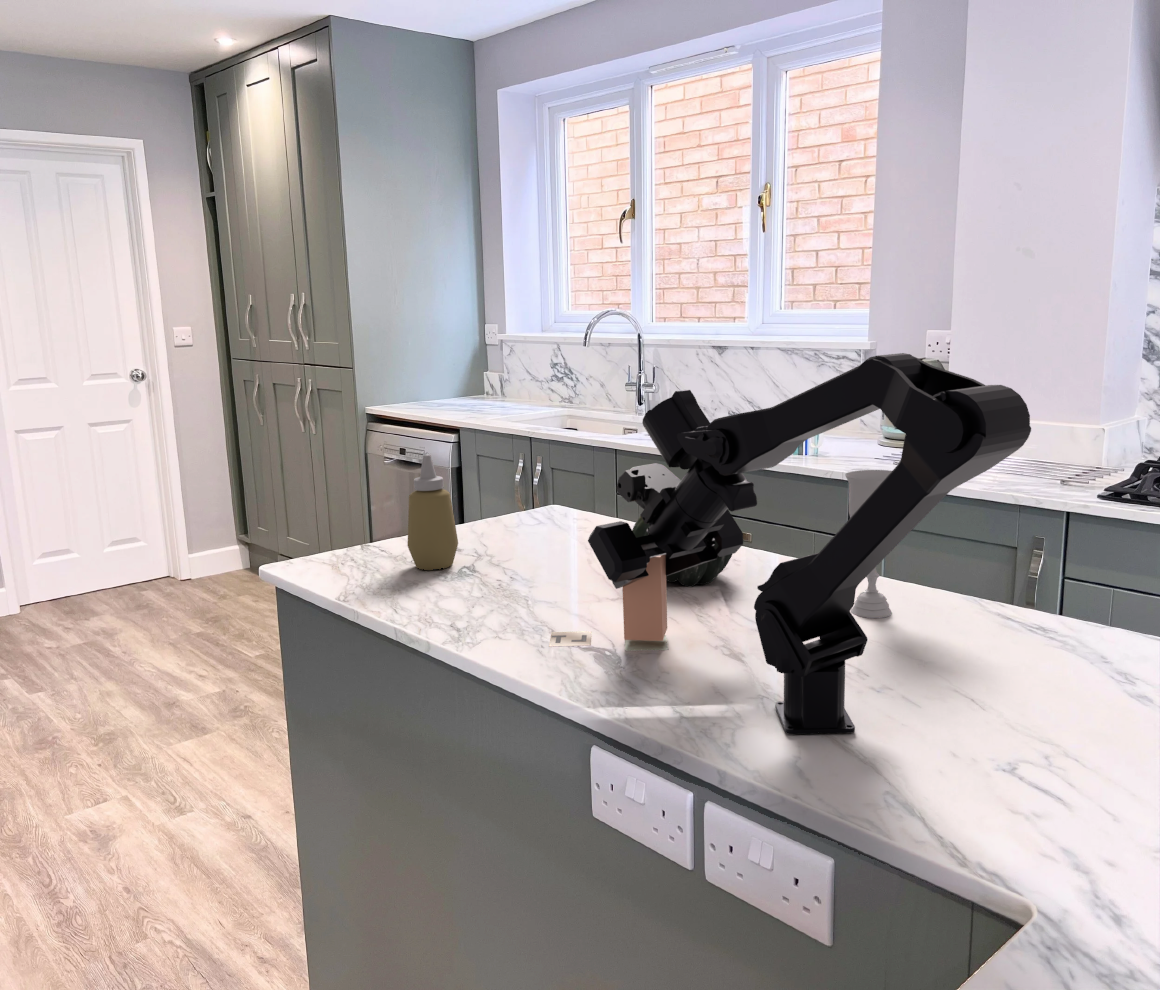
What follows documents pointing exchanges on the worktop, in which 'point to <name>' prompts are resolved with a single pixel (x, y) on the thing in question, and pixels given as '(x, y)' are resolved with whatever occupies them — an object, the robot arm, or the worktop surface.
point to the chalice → (871, 600)
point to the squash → (694, 574)
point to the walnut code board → (585, 638)
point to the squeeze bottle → (431, 521)
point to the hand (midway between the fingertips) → (637, 579)
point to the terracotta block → (646, 604)
